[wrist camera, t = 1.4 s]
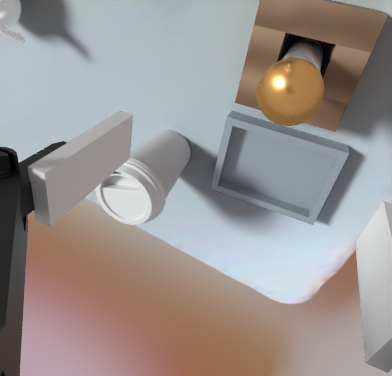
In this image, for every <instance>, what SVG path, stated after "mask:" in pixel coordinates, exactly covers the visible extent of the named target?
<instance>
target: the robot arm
mask: <svg viewBox="0 0 392 376" xmlns="http://www.w3.org/2000/svg"><path fill="white" fill-rule="evenodd" d="M132 120H133V115H131V114H128V113H125V112H122V111H119V112H118V113H116V114H114V115H113V116H111V117H109V118H108V119H106V120H104V121H103V122H101V123H99V124H98V125H96V126H94V127H93V128H91V129H89V130H88V131H86V132H84V133H83V134H81V135H80V136H78V137H76V138H75V139H73V140H71V141H70V142H68V143H67V142H64V141H62V142H58V143H54V144H51V145H50V146H48V147H46V148H44V150H41V151H39V152H37V154H34V155H32V156H31V157H29V158H27V159H25V160H24V161H22V162H20V163H18V157H17V153H16V152H15V151H14V150H13V149H10V148H7V147H0V376H20V355H21V339H22V321H23V303H24V284H25V267H26V250H27V232H28V218H27V215H28V214H29V213H30V212H32V211H33V210H34V212H35V219H36V220H37V221H39V222H41V223H44V224H46V225H48V226H52V225H53V224H54V223H56V222H57V221H58V220H59V219H60V218H61V217H62V216H64V215H65V214H66V213H67V212H68V211H69V210H71V209H72V208H73V207H74V206H75V205H76V204H78V203H79V202H80V201H81V200H82V199H83V198H85V197H86V196H87V195H88V194H89V193H90V192H92V191H93V190H94V189H95V188H96V187H97V186H98V185H100V184H101V183H102V182H103V181H104V180H105V179H107V178H108V177H109V176H110V175H111V174H112V173H114V172H115V171H116V170H117V169H118V168H119V167H120V166H122V165H123V164H124V163H125V162H126V161H127V160H129V159H130V147H131V134H132ZM355 243H356V255H357V267H358V279H359V291H360V303H361V315H362V327H363V339H364V351H365V363H367V364H369V365H371V366H374V367H376V368H378V369H381V370H383V371H385V372H389V371H390V370H391V369H392V204H391V203H388V202H385V201H383V202H382V204H381V205H380V207H379V208H378V210H377V211H376V213H375V214H374V216H373V217H372V219H371V220H370V221H369V223H368V224H367V226H366V227H365V229H364V230H363V232H362V233H361V235H360V236H359V238H358V239H357V241H356V242H355Z"/></svg>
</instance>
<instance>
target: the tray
mask: <svg viewBox="0 0 392 376" xmlns="http://www.w3.org/2000/svg"><path fill="white" fill-rule="evenodd" d="M348 155H349V146H348V145H345V144H342V143H338V142H335V141H332V140H328V139H325V138H321V137H318V136H315V135H311V134H308V133H305V132H301V131H298V130H295V129H291V128H288V127H284V126H281V125H278V124H274V123H271V122H268V121H264V120H261V119H257V118H254V117H251V116H247V115H244V114H241V113H237V112H234V111H232V112H231V113H230V114H229V115H228V116H227V120H226V124H225V128H224V133H223V137H222V141H221V145H220V149H219V154H218V158H217V162H216V166H215V170H214V175H213V179H212V183H211V187H210V189H212V190H215V191H218V192H220V193H223V194H226V195H229V196H232V197H235V198H238V199H240V200H243V201H246V202H249V203H252V204H255V205H258V206H260V207H263V208H266V209H269V210H272V211H275V212H277V213H280V214H283V215H286V216H289V217H292V218H295V219H297V220H300V221H303V222H306V223H309V224H312V225H313V224H314V222H315V220H316V218H317V216H318V214H319V212H320V210H321V209H322V207H323V205H324V203H325V201H326V199H327V197H328V195H329V193H330V191H331V189H332V187H333V185H334V183H335V181H336V179H337V177H338V175H339V173H340V171H341V169H342V167H343V165H344V163H345V161H346V159H347V157H348Z"/></svg>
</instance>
